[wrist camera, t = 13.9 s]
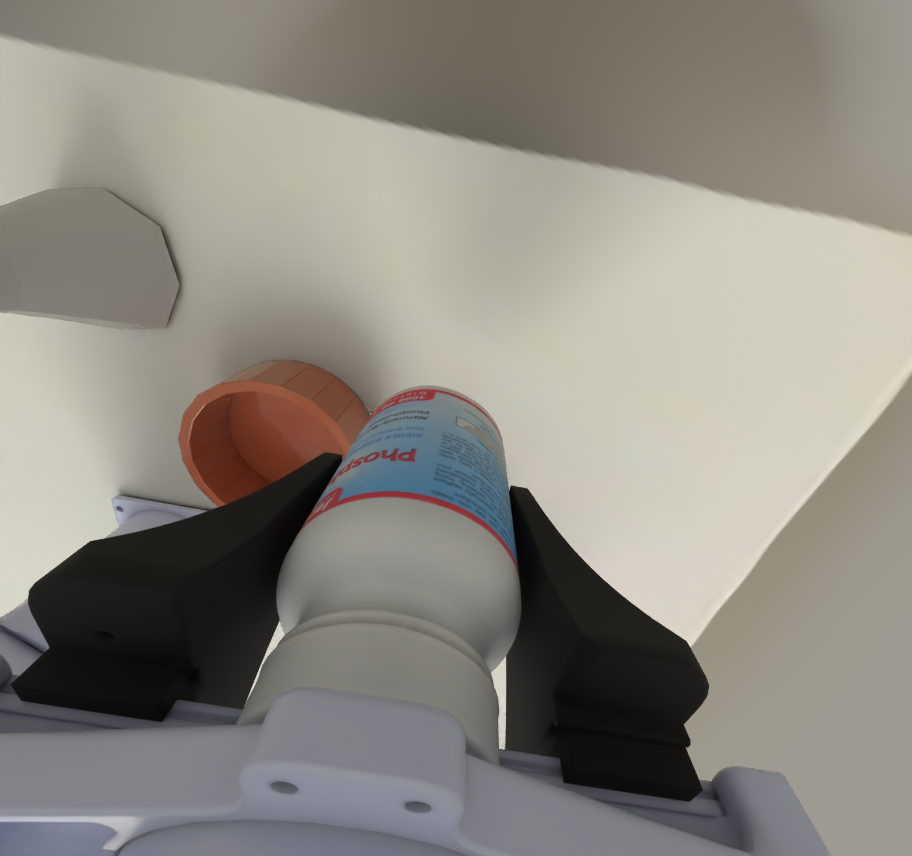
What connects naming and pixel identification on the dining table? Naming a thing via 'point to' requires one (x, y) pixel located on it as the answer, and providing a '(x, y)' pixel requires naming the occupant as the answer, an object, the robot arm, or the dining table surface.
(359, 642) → the pill bottle
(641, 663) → the robot arm
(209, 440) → the bowl
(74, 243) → the flask
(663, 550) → the dining table surface
